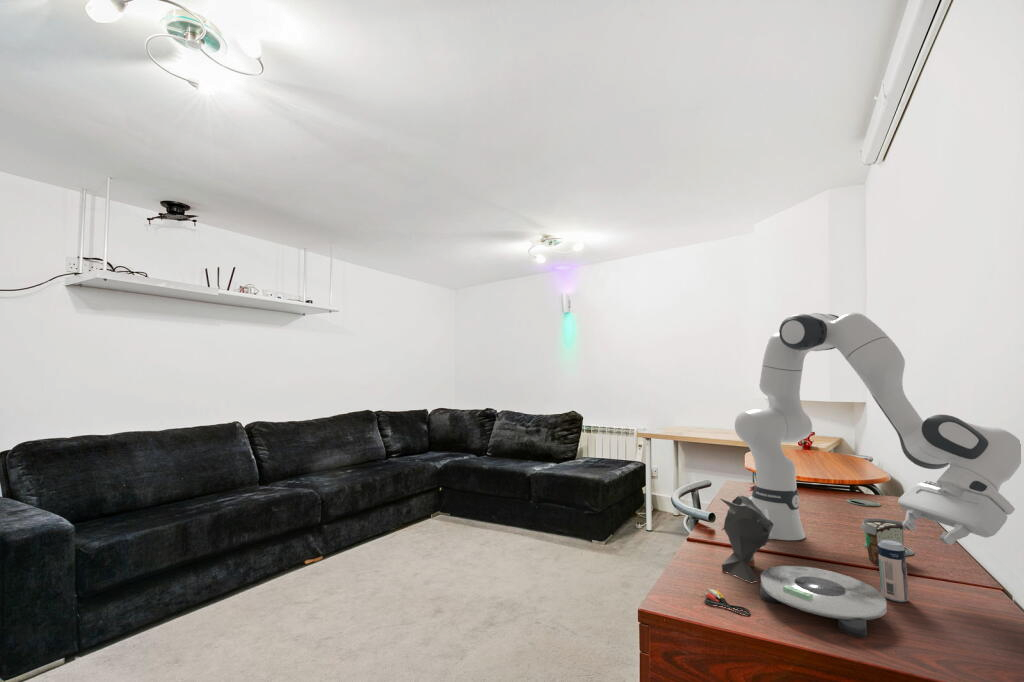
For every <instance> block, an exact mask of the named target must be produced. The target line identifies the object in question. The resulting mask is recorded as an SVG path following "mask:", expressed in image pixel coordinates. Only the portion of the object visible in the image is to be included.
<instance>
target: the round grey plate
mask: <svg viewBox="0 0 1024 682" xmlns="http://www.w3.org/2000/svg"><path fill="white" fill-rule="evenodd" d="M759 585H760V587H759V588H760V589H759V591H760V592H759V593H760V598H761V599H762V600H763V601H765V602H767V603H771V604H776V603H779V604H785V605H787V606H790V607H791V608H795V609H797V610H800V611H803V612H806V613H810V614H813V615H817V616H821V617H826V618H831V619H837V621H838V630H839V629H840V630H841V631H842V632H841V631H840V630H839V631H840V632H841V633H843V632H844V633H843V634H845V633H846V634H845V635H847V634H849V635H848V636H850V635H852V636H851V637H853V636H856V637H855V638H859V637H864V638H866V637H867V636H868V632H867V631H868V629H867V621H868V620H875V619H878V618H881V617H883V616H884V615H885V614H886V613H887V610H888V607H887V606H888V605H887V598H886V597H885V596H884V595H883V594H882V593H881V591H879V590H878V589H877V588H875V587H874V586H872V585H870V584H868V583H866V582H864V581H862V580H860V579H857V578H854V577H852V576H849V575H845V574H843V573H839V572H835V571H831V570H827V569H823V568H816V567H811V566H810V567H809V566H802V565H779V566H778V565H777V566H773V567H768V568H766V569H764V570H763V571H762V572H761V573H760V581H759Z"/></svg>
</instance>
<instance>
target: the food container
mask: <svg viewBox="0 0 1024 682" xmlns="http://www.w3.org/2000/svg"><path fill="white" fill-rule="evenodd" d="M903 522H904V521H900V520H895V519H889V518H877V517H873V518H871V517H870V518H865V519H863V521H862V522H861V527H860V528H861V530H862V531H864V536H865V542H866V550H867V554H868V555H867V556H868V560H869V561H870V562H871V563H872V562H873V563H872V564H874V563H875V564H874V565H876V564H877V565H876V566H879V555H878V543H879V542H880V540H881V539H887V540H894V541H898V542H900V543H902V544H903V546H904V543H905V542H904V531H905V530H906V528H905V527H904V526H902V523H903ZM904 547H905V546H904Z"/></svg>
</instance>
